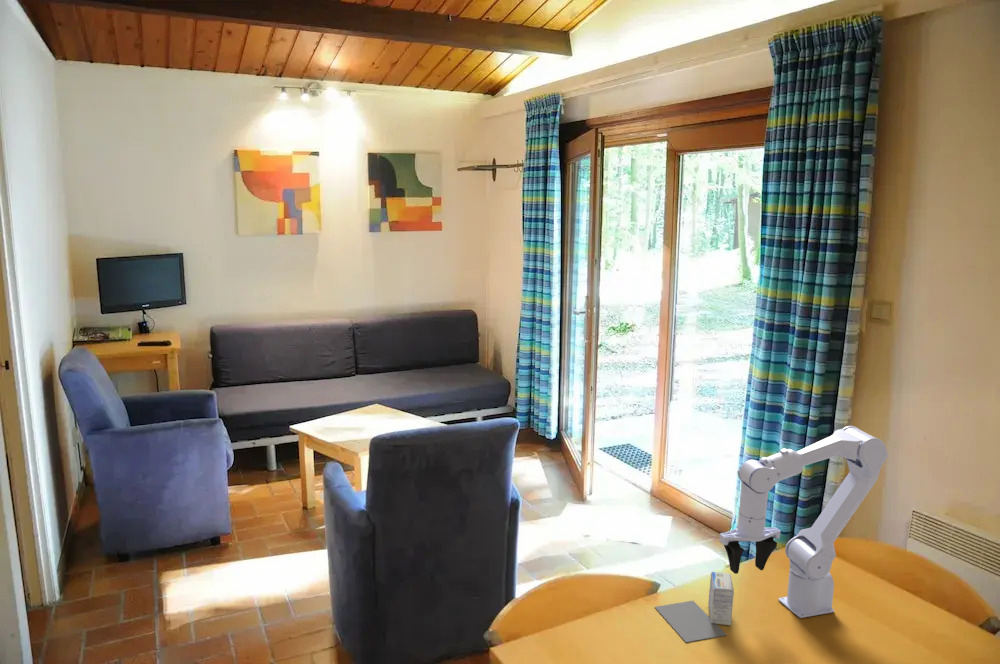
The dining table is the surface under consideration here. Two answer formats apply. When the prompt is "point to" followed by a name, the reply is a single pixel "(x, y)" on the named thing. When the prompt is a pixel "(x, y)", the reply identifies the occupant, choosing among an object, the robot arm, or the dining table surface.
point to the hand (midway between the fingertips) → (746, 569)
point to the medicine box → (721, 598)
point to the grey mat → (690, 621)
